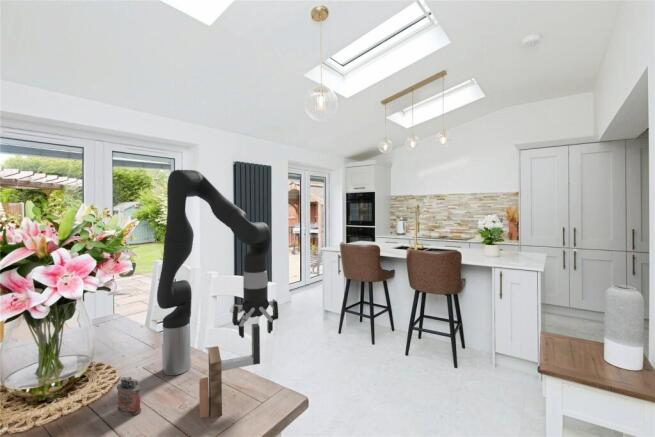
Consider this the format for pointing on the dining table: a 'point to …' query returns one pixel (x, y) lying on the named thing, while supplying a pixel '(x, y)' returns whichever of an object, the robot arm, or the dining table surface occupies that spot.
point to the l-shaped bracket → (246, 360)
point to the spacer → (204, 397)
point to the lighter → (129, 397)
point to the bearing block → (215, 381)
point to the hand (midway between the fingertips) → (255, 334)
